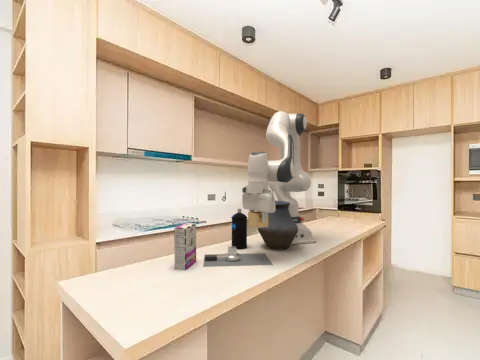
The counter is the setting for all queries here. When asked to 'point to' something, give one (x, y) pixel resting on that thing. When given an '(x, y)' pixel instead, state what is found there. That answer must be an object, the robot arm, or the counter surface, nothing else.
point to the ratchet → (225, 256)
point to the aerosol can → (239, 230)
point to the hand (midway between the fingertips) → (258, 221)
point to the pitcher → (279, 227)
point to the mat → (241, 260)
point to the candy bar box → (185, 246)
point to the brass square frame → (256, 220)
